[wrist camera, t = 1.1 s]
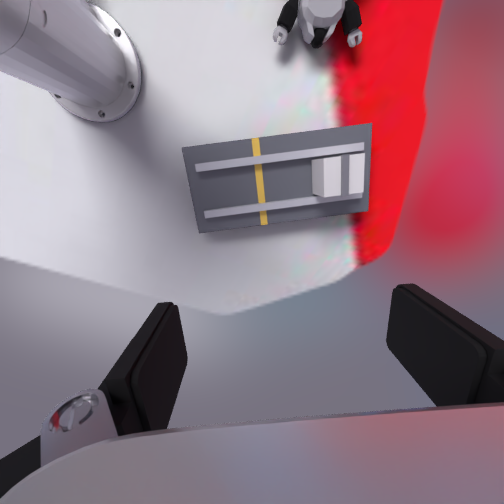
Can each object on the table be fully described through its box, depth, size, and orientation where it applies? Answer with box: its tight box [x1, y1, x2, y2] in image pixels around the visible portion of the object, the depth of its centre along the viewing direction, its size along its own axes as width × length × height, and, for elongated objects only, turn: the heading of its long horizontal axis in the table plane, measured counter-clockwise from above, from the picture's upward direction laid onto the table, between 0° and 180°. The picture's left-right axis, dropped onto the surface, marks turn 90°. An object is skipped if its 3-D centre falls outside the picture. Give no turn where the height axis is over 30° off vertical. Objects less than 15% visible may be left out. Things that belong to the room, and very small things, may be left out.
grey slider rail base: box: [182, 123, 372, 233], centre depth 34 cm, size 12×26×4 cm, turn 97°
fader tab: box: [311, 153, 365, 197], centre depth 31 cm, size 5×5×6 cm
